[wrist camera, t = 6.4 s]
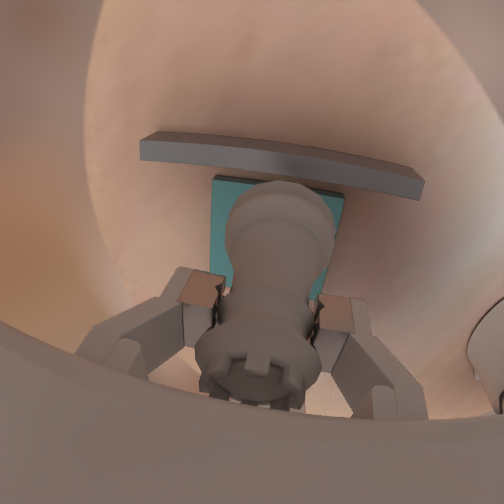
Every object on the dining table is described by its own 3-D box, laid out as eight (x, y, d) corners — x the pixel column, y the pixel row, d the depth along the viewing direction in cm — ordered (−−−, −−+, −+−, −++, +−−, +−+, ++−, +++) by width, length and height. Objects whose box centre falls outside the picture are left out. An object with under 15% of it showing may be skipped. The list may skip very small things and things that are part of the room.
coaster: (343, 194, 24) (344, 199, 23) (318, 293, 29) (318, 300, 28) (215, 175, 24) (212, 179, 23) (212, 277, 30) (209, 283, 29)
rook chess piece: (309, 158, 11) (306, 314, 5) (349, 249, 13) (365, 421, 7) (210, 200, 13) (123, 352, 7) (259, 278, 15) (222, 436, 9)
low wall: (411, 168, 21) (424, 181, 19) (407, 185, 22) (419, 200, 20) (156, 131, 23) (139, 140, 20) (156, 149, 24) (140, 160, 21)
